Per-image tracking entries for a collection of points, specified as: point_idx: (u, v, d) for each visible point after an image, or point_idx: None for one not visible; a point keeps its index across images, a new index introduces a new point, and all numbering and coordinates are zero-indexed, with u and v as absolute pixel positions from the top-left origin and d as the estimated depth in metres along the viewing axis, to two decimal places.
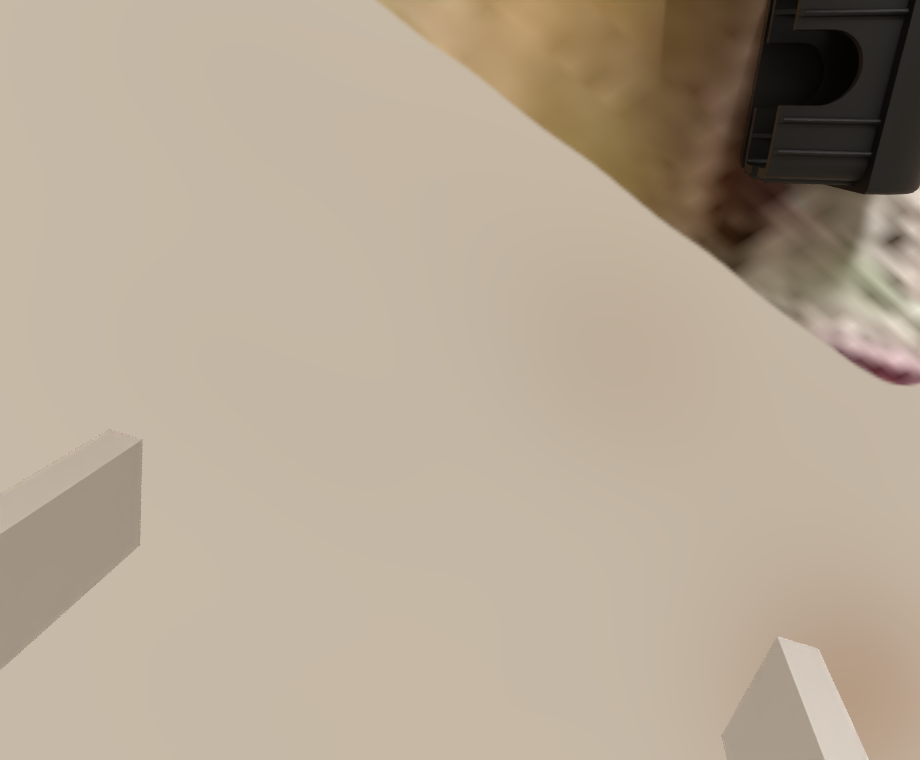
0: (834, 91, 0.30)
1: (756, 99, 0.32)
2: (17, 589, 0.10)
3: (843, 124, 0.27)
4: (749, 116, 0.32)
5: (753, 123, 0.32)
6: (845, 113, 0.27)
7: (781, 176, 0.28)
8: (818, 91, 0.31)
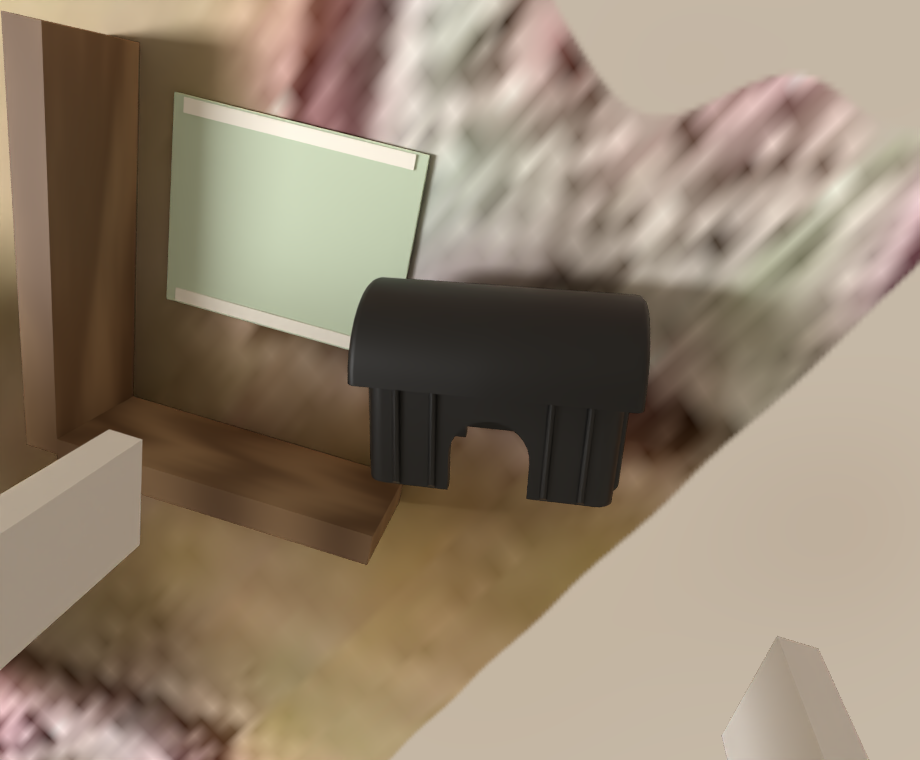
0: None
1: None
2: (17, 589, 0.10)
3: (553, 434, 0.21)
4: None
5: None
6: (540, 434, 0.21)
7: (611, 487, 0.22)
8: None
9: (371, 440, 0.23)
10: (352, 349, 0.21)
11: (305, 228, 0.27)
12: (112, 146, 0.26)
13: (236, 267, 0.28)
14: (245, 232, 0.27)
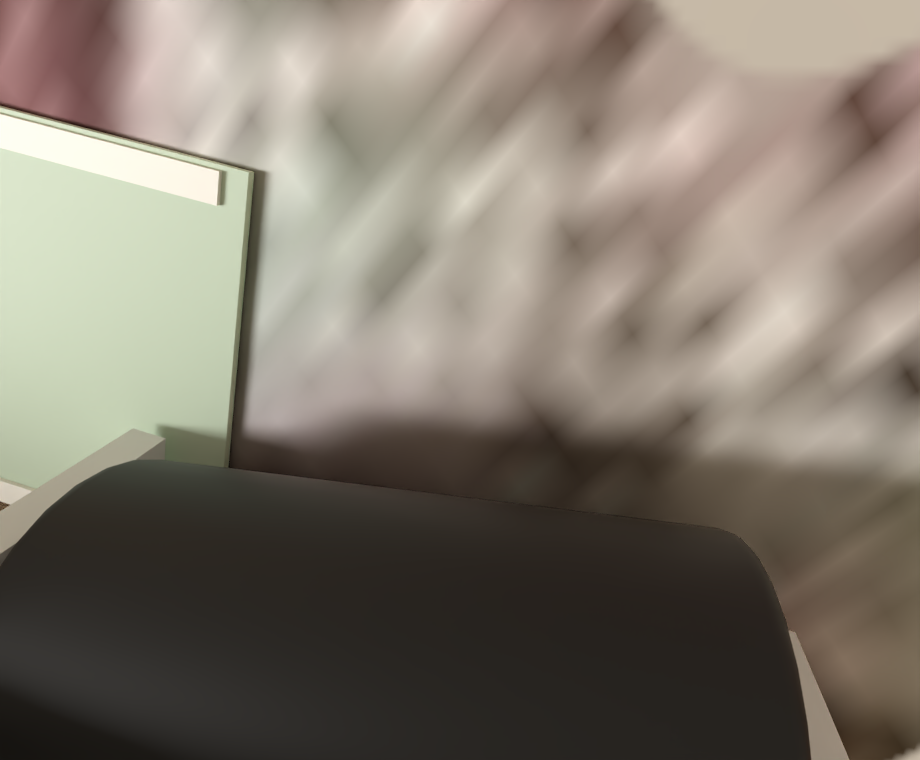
0: None
1: None
2: None
3: None
4: None
5: None
6: None
7: None
8: None
9: None
10: None
11: (22, 319, 0.13)
12: None
13: None
14: None
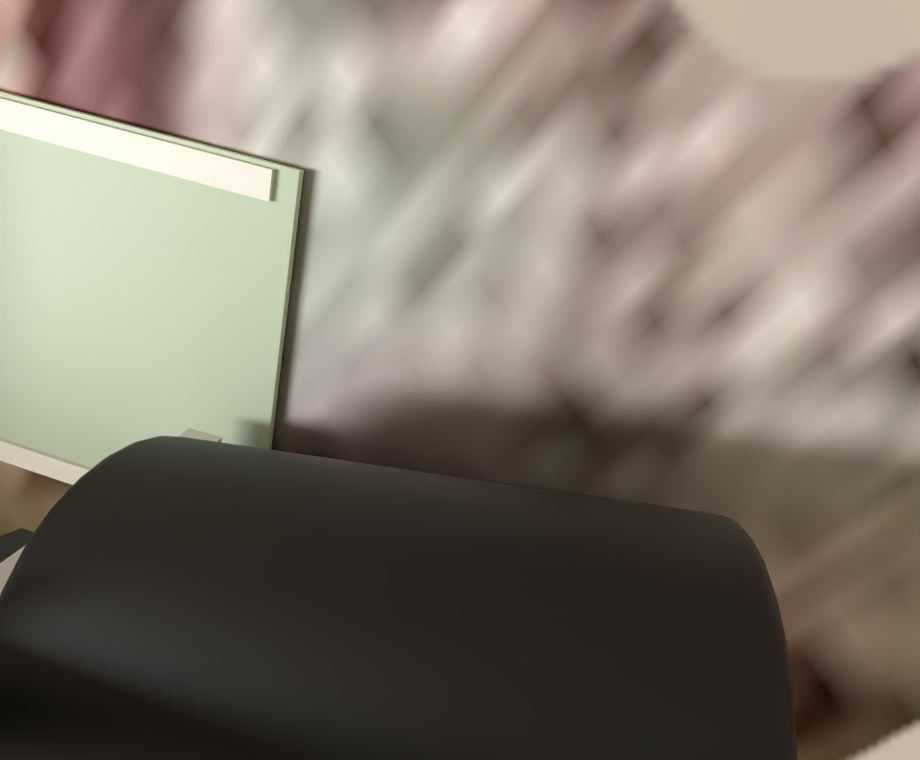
0: None
1: None
2: None
3: None
4: None
5: None
6: None
7: None
8: None
9: None
10: None
11: (83, 307, 0.14)
12: None
13: None
14: None
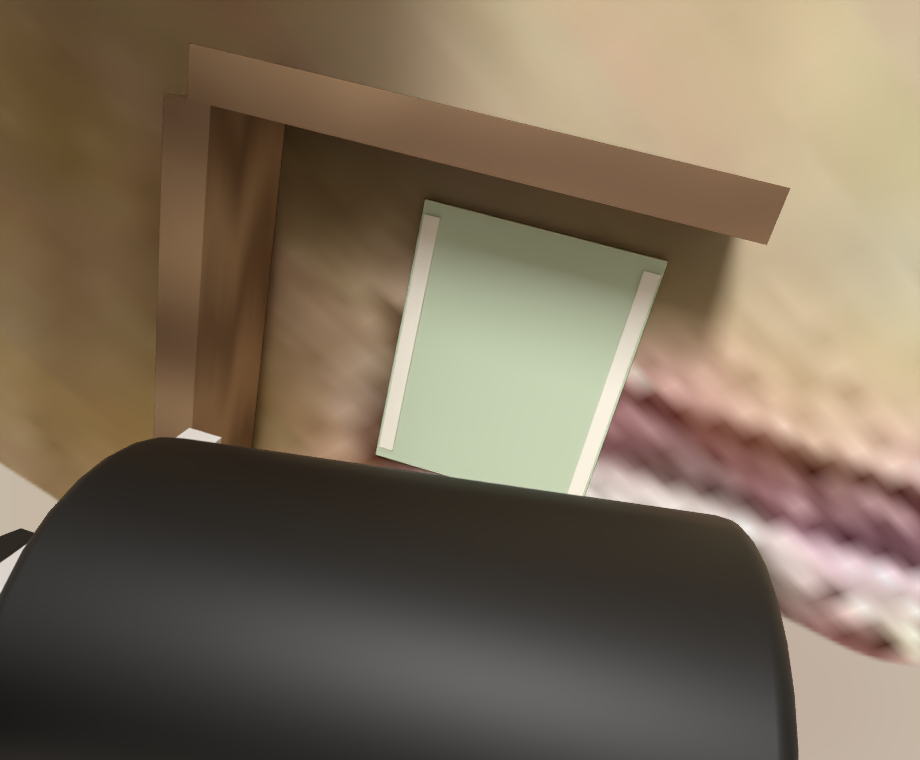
0: None
1: None
2: None
3: None
4: None
5: None
6: None
7: None
8: None
9: None
10: None
11: (511, 389, 0.25)
12: None
13: (467, 302, 0.24)
14: (507, 320, 0.24)
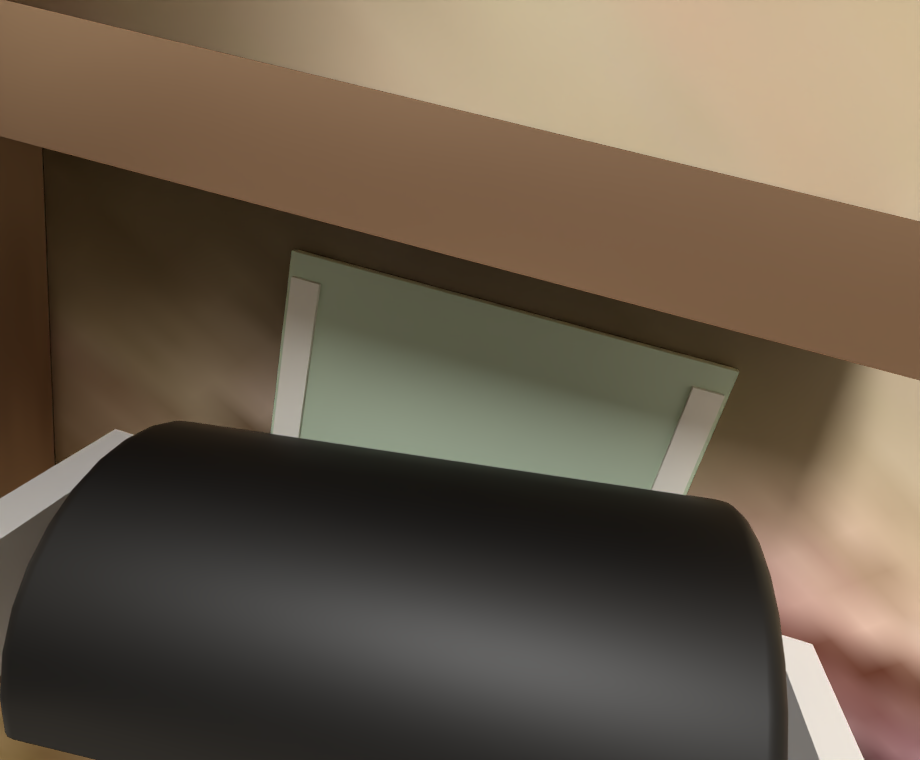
0: None
1: None
2: None
3: None
4: None
5: None
6: None
7: None
8: None
9: None
10: (6, 652, 0.08)
11: None
12: None
13: (376, 427, 0.14)
14: None
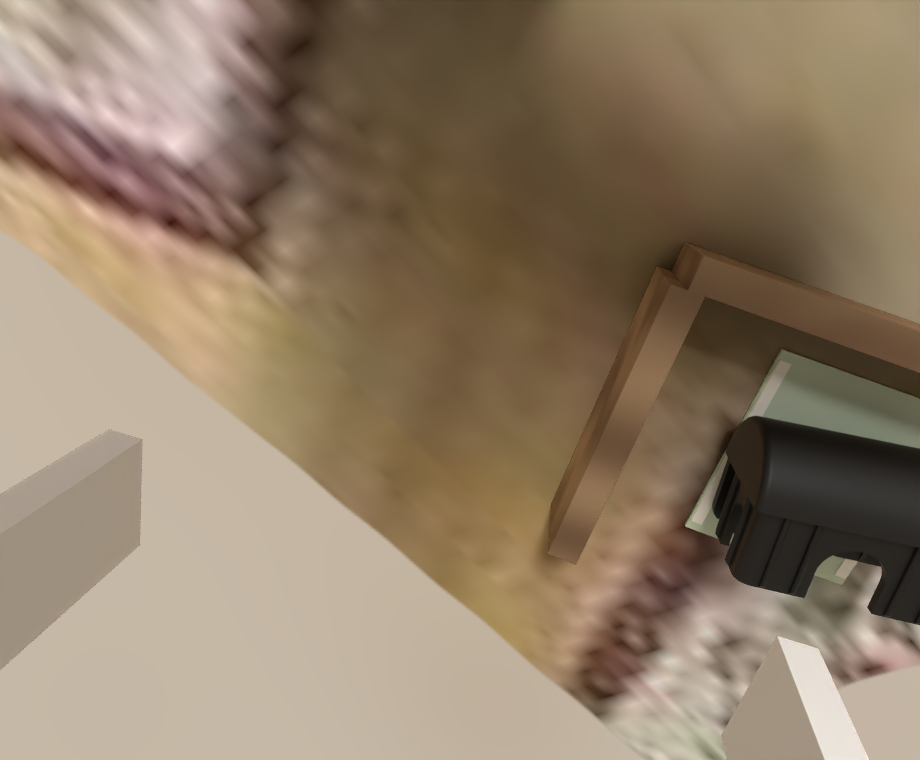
0: None
1: None
2: (17, 589, 0.10)
3: (912, 568, 0.27)
4: None
5: None
6: (902, 567, 0.27)
7: None
8: None
9: (745, 550, 0.28)
10: (767, 484, 0.26)
11: None
12: None
13: None
14: None
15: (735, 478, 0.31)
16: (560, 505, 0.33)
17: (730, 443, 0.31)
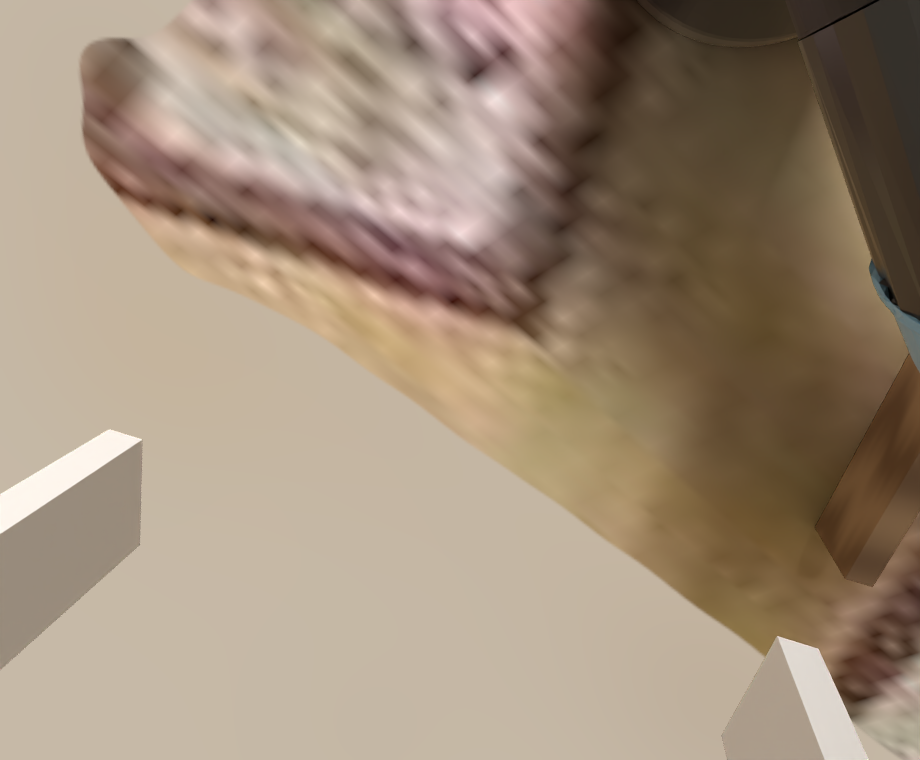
0: None
1: None
2: (17, 589, 0.10)
3: None
4: None
5: None
6: None
7: None
8: None
9: None
10: None
11: None
12: None
13: None
14: None
15: None
16: (843, 532, 0.36)
17: None
